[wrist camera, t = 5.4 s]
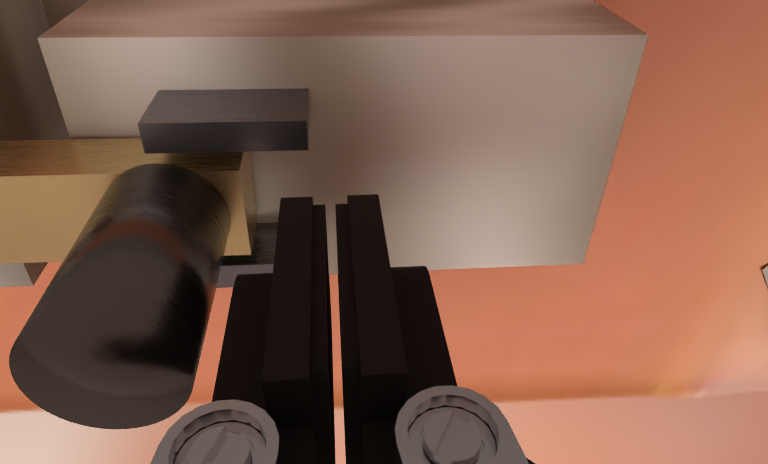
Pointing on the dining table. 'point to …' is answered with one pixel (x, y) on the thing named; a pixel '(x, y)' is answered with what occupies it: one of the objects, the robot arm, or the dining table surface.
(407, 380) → the robot arm
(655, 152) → the dining table surface
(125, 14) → the grey brown double block
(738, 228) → the dining table surface
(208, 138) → the lock hardware
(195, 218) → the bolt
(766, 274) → the condiment
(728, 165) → the dining table surface
